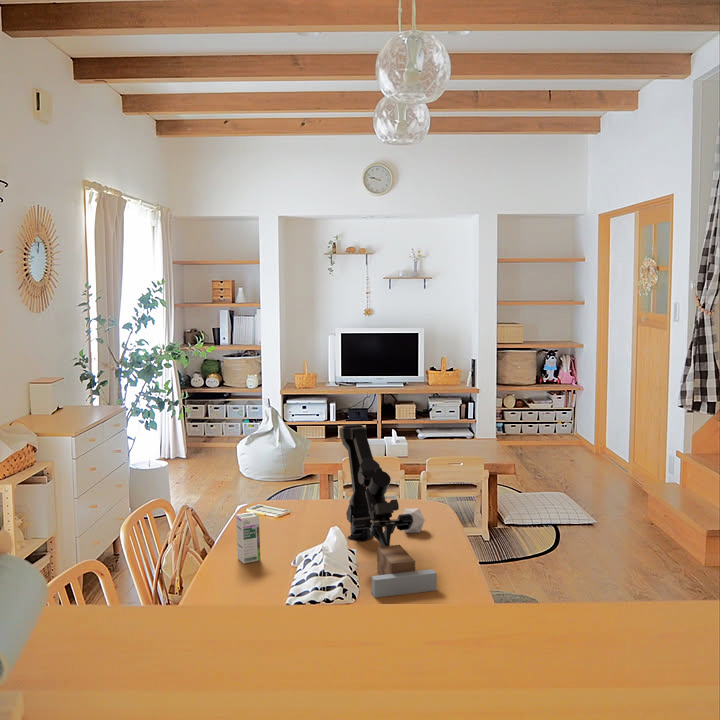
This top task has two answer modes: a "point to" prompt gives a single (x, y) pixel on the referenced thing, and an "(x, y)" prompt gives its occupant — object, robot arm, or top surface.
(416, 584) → the board
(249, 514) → the syrup box
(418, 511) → the die
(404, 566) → the walnut block
